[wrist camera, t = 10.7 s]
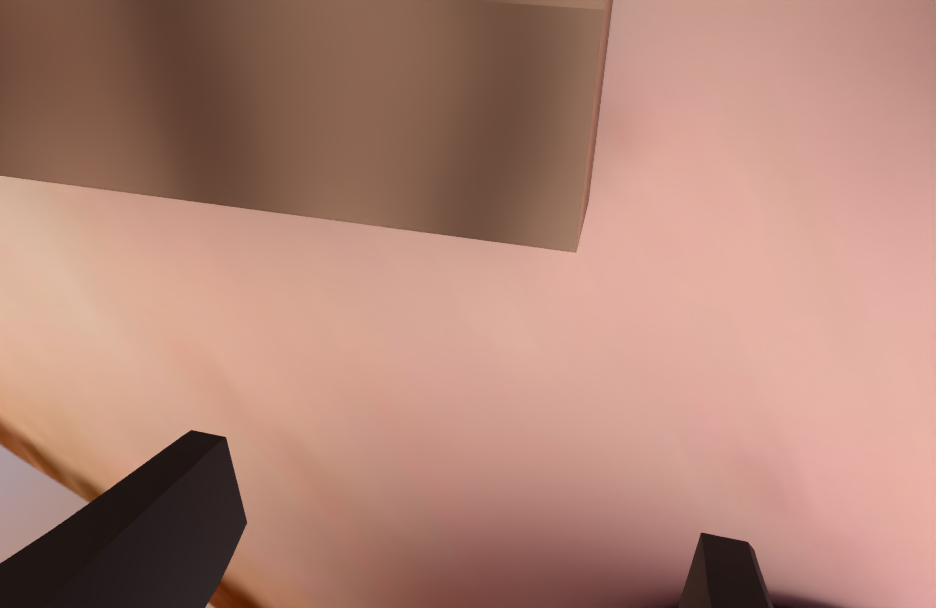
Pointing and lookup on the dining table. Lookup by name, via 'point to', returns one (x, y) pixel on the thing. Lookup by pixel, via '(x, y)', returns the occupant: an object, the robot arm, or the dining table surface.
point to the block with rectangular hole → (316, 107)
